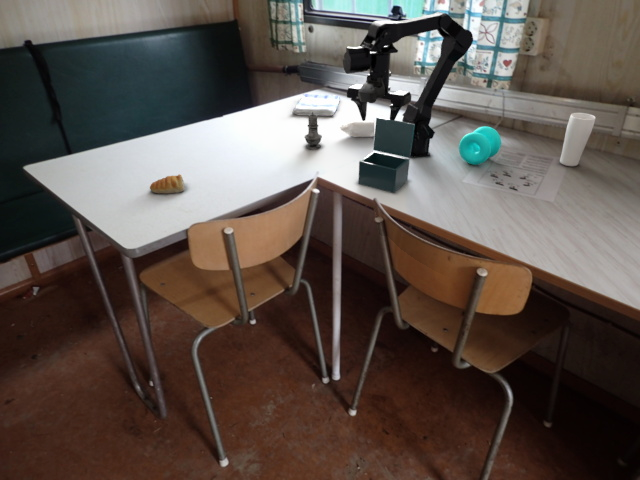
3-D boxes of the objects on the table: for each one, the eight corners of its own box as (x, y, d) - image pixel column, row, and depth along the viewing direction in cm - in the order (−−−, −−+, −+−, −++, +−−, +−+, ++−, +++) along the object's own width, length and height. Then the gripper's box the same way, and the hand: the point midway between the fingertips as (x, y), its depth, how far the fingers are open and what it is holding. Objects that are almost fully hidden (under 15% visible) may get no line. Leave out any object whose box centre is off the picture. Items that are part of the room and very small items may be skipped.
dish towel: (291, 115, 185) (291, 108, 183) (302, 98, 204) (302, 92, 203) (333, 117, 182) (333, 110, 181) (341, 99, 202) (341, 93, 200)
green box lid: (414, 124, 124) (415, 123, 125) (376, 117, 129) (377, 117, 130) (409, 157, 129) (410, 157, 129) (373, 150, 134) (374, 149, 134)
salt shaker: (320, 150, 153) (319, 115, 147) (303, 149, 154) (301, 114, 148) (323, 144, 158) (323, 109, 152) (306, 143, 159) (305, 108, 153)
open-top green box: (394, 193, 127) (396, 170, 123) (358, 183, 132) (359, 161, 128) (407, 181, 133) (409, 159, 129) (372, 172, 138) (373, 151, 134)
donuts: (455, 161, 145) (459, 130, 139) (470, 151, 151) (475, 122, 145) (484, 169, 139) (490, 138, 133) (499, 159, 145) (505, 129, 140)
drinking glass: (580, 161, 143) (595, 114, 135) (580, 169, 138) (596, 120, 130) (556, 157, 146) (570, 111, 138) (556, 166, 141) (570, 117, 132)
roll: (339, 133, 167) (339, 118, 164) (372, 133, 167) (373, 118, 164) (340, 139, 162) (340, 123, 159) (374, 139, 162) (374, 123, 159)
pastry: (151, 197, 126) (148, 184, 124) (150, 187, 132) (147, 175, 130) (186, 192, 129) (183, 179, 127) (184, 182, 134) (181, 170, 132)
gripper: (337, 72, 130) (337, 125, 139) (397, 80, 121) (393, 136, 130) (356, 64, 138) (355, 115, 146) (414, 71, 129) (409, 125, 137)
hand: (377, 123), depth 140 cm, fingers open, 9 cm apart
